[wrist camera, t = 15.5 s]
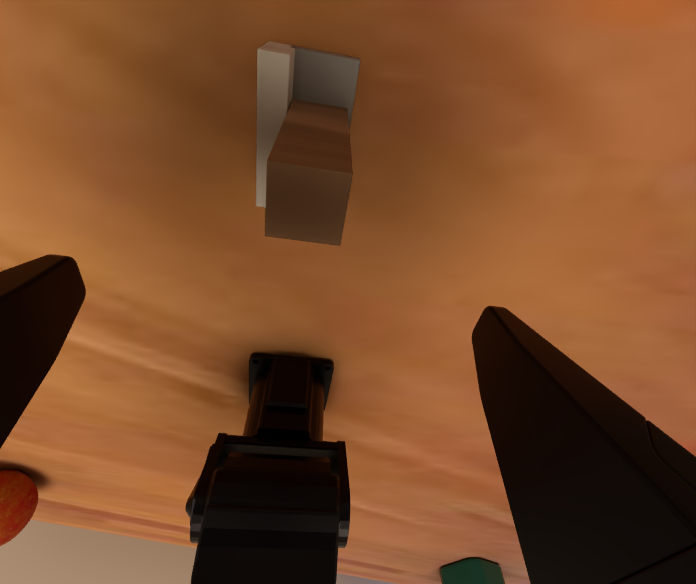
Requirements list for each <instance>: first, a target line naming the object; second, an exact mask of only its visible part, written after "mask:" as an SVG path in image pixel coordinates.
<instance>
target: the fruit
mask: <svg viewBox="0 0 696 584" xmlns="http://www.w3.org/2000/svg"><path fill="white" fill-rule="evenodd" d="M37 503H38V490H37V488H36V486H35V484H34V483H33V481H32V480H31V479H30V477H29V476H28V475H26V474H24V473H22V472H21V471H18V470H2V471H0V546H1V545H3V544H5V543H7V542H9V541H10V540H11V539H13V538H14V537H15V536H16V535H17V534H18V533H19V532H20V531H22V529H23V528H24V527H25V526H26V525H27V523H28V522H29V521H30V519H31V517H32V516H33V514H34V512H35V509H36V506H37Z"/></svg>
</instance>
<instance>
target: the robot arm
mask: <svg viewBox="0 0 696 584" xmlns="http://www.w3.org/2000/svg"><path fill="white" fill-rule="evenodd" d="M85 294H86V289H85V285H84V282H83V280H82V277H81V274H80V271H79V268H78V265H77V263H76V261H75V260H74V259H73V258H71V257H69V256H61V255H46V256H43V257H40V258H37V259H34V260H32V261H29V262H26V263H23V264H21V265H18V266H15V267H12V268H9V269H7V270H4V271H1V272H0V448H1V447H2V445H3V443H4V442H5V440H6V439H7V437H8V435H9V434H10V432H11V431H12V429H13V427H14V426H15V424H16V423H17V421H18V419H19V418H20V416H21V415H22V413H23V411H24V410H25V408H26V407H27V405H28V403H29V402H30V400H31V399H32V397H33V395H34V394H35V392H36V391H37V389H38V388H39V386H40V384H41V383H42V381H43V380H44V378H45V376H46V375H47V373H48V372H49V370H50V368H51V366H52V365H53V363H54V361H55V360H56V358H57V356H58V354H59V352H60V350H61V348H62V346H63V344H64V341H65V339H66V337H67V335H68V333H69V331H70V329H71V327H72V324H73V322H74V320H75V318H76V316H77V314H78V312H79V310H80V308H81V305H82V303H83V301H84V299H85ZM472 344H473V351H474V357H475V364H476V371H477V377H478V384H479V390H480V396H481V400H482V404H483V408H484V412H485V416H486V419H487V423H488V427H489V430H490V434H491V438H492V442H493V445H494V449H495V453H496V457H497V460H498V464H499V468H500V471H501V475H502V479H503V483H504V486H505V490H506V494H507V498H508V501H509V505H510V509H511V512H512V516H513V520H514V524H515V527H516V531H517V535H518V539H519V542H520V546H521V550H522V553H523V557H524V561H525V565H526V568H527V572H528V576H529V580H530V583H531V584H696V457H695V456H694V455H693V454H691V453H690V452H689V451H687V450H686V449H685V448H684V447H682V446H681V445H680V444H678V443H677V442H676V441H674V440H673V439H672V438H670V437H669V436H668V435H667V434H665V433H664V432H663V431H662V430H660V429H659V428H658V427H656V426H655V425H654V424H653V423H651V422H650V421H646V419H645V417H644V416H642V415H641V414H640V413H639V412H637V411H636V410H635V409H633V408H632V407H631V406H630V405H628V404H627V403H626V402H625V401H623V400H622V399H621V398H619V397H618V396H617V395H616V394H614V393H613V392H612V391H611V390H609V389H608V388H607V387H605V386H604V385H603V384H602V383H600V382H599V381H598V380H597V379H595V378H594V377H593V376H591V375H590V374H589V373H588V372H586V371H585V370H584V369H583V368H581V367H580V366H579V365H577V364H576V363H575V362H574V361H572V360H571V359H570V358H568V357H567V356H566V355H565V354H563V353H562V352H561V351H560V350H558V349H557V348H556V347H554V346H553V345H552V344H551V343H549V342H548V341H547V340H546V339H544V338H543V337H542V336H541V335H539V334H538V333H537V332H535V331H534V330H533V329H532V328H530V327H529V326H528V325H527V324H525V323H524V322H523V321H521V320H520V319H519V318H518V317H516V316H515V315H514V314H513V313H511V312H510V311H509V310H507V309H506V308H503V307H496V306H488V307H486V308H485V309H484V311H483V312H482V314H481V316H480V318H479V320H478V322H477V324H476V326H475V328H474V330H473V333H472ZM333 370H334V363H333V362H332V361H330V360H321V359H310V358H300V357H289V356H278V355H267V354H252V355H251V356H250V360H249V404H250V405H249V410H248V414H247V419H246V424H245V428H244V433H243V436H237V435H227V433H219V434H218V436H217V439H216V442H215V444H212V446H211V447H210V449H209V452H208V456H207V459H206V463H205V465H204V468H203V471H202V473H201V476H200V477H199V479H198V481H197V483H196V485H195V487H194V489H193V491H192V493H191V495H190V496H189V498H188V500H187V503H186V512H187V514H188V515H189V517H190V527H191V528H190V541H191V542H192V543H198V545H197V551H196V556H195V562H194V566H193V572H192V578H191V584H336V574H337V557H338V548H345V546H346V544H347V540H348V533H349V523H350V488H349V477H348V467H347V457H346V447H345V441H337V442H327V441H323V414H324V410H325V406H326V402H327V397H328V393H329V388H330V383H331V379H332V374H333Z"/></svg>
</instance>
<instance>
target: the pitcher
mask: <svg viewBox="0 0 696 584" xmlns="http://www.w3.org/2000/svg"><path fill="white" fill-rule="evenodd" d="M440 576H441V582H442V584H505V581H504V578H503V574H502V571H501V568H500V566H499V565H498V564H496V563H492V562H489V561H486V560H483V559H480V558H468V559H464V560H461V561H458V562H455V563H452V564H449V565H446V566H444V567H442V568H441V570H440Z"/></svg>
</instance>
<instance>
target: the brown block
mask: <svg viewBox="0 0 696 584" xmlns="http://www.w3.org/2000/svg"><path fill="white" fill-rule="evenodd" d="M359 66H360V58H356V57H351V56H345V55H340V54H335V53H330V52H324V51H319V50H314V49H309V48H303V47H298V46H293V45H288V44H282V43H277V42H272V41H268V42H267V43H265V44H264V45H262V46H261V47H260V48H258V49H257V152H256V206H259V207H266V210H265V236H268V237H276V238H284V239H292V240H300V241H307V242H315V243H323V244H331V245H338V246H340V244H341V238H342V232H343V227H344V221H345V215H346V210H347V204H348V198H349V192H350V187H351V181H352V175H353V171H352V159H351V147H350V135H349V129H350V123H351V116H352V110H353V104H354V97H355V91H356V85H357V78H358V72H359Z"/></svg>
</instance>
